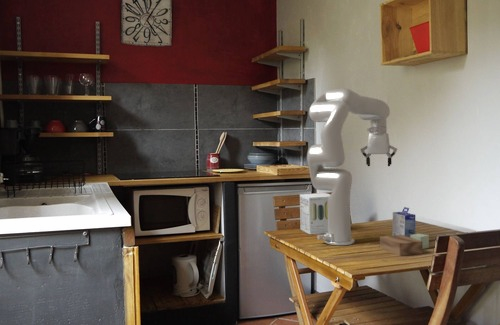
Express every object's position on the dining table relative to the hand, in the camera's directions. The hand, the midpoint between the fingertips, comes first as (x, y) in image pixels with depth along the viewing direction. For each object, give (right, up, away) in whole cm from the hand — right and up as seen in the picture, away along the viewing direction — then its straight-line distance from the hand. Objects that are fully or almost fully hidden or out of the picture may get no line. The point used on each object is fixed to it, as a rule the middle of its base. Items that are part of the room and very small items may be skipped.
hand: (378, 166), depth 249 cm
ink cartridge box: (+3, -32, -32) cm, 45 cm away
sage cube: (+6, -32, -42) cm, 53 cm away
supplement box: (-30, -31, -3) cm, 43 cm away
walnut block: (-3, -33, -47) cm, 57 cm away
